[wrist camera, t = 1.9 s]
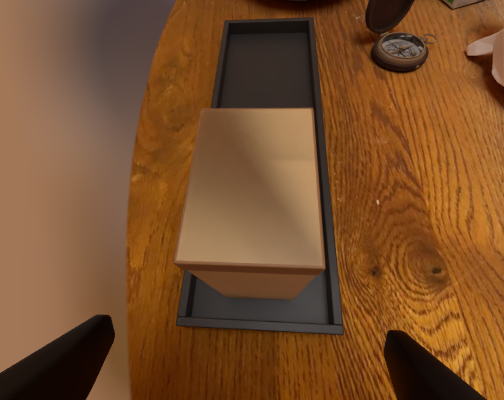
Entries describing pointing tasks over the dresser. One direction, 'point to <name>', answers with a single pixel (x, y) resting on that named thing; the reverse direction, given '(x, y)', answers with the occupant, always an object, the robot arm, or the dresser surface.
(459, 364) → the dresser surface
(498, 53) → the white bird figurine
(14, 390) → the robot arm
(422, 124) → the dresser surface
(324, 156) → the tray
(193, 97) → the dresser surface
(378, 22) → the compass
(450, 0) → the small box
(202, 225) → the packet
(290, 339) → the dresser surface
